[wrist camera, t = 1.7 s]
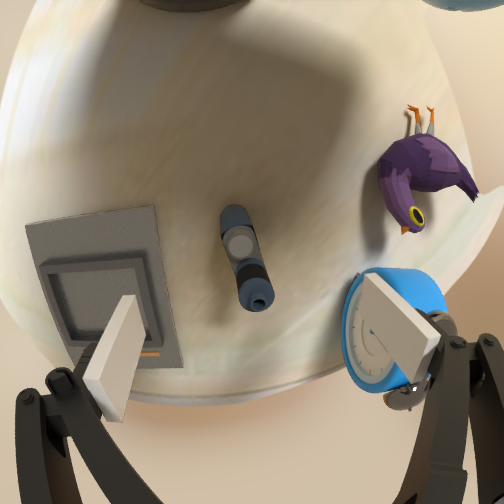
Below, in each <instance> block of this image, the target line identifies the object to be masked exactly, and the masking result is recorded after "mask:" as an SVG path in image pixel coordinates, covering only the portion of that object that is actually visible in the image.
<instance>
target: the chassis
mask: <svg viewBox="0 0 504 504" xmlns="http://www.w3.org/2000/svg"><path fill="white" fill-rule="evenodd" d="M25 228H26V233H27V237H28V241H29V245H30V249H31V253H32V257H33V260H34V264H35V267H36V270H37V274H38V277H39V280H40V283H41V286H42V289H43V292H44V295H45V298H46V301H47V303H48V306H49V309H50V311H51V314H52V316H53V319H54V321H55V324H56V326H57V329H58V331H59V333H60V336H61V338H62V340H63V342H64V345H65V347H66V349H67V351H68V353H69V355H70V357H71V360H72V362H73V364H74V366H76V365H77V363H78V361H79V359H80V357H81V355H82V353H83V351H84V349H85V348H86V347H87V346H88V345H89V344H90V343H99V341H100V339H101V337H102V335H103V333H104V331H105V329H106V327H107V325H108V323H109V321H110V319H111V317H112V315H113V313H114V311H115V309H116V307H117V305H118V304H119V302H120V300H121V298H122V296H123V295H136V300H137V304H138V307H139V311H140V315H141V319H142V323H143V326H144V330H145V333H146V336H145V339H144V343H143V346H142V350H141V353H140V357H139V360H138V364H137V367H136V368H183V366H184V363H183V359H182V355H181V350H180V346H179V342H178V338H177V333H176V329H175V324H174V320H173V315H172V310H171V305H170V300H169V295H168V290H167V285H166V280H165V274H164V268H163V262H162V256H161V250H160V244H159V237H158V230H157V223H156V215H155V207H154V206H146V207H137V208H129V209H121V210H113V211H105V212H98V213H91V214H84V215H77V216H71V217H64V218H58V219H52V220H46V221H40V222H35V223H29V224H27V225H25Z"/></svg>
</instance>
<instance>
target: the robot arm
mask: <svg viewBox="0 0 504 504" xmlns="http://www.w3.org/2000/svg"><path fill="white" fill-rule="evenodd" d="M141 1H143V2H144V3H146V4H148V5H150V6H153V7H156V8H159V9H163V10H168V11H176V12H196V11H205V10H211V9H216V8H220V7H223V6H227V5H230V4H232V3H235V2H237V1H239V0H141ZM422 1H424V2H425V3H427V4H429V5H432V6H434V7H437V8H440V9H443V10H449V11H458V10H460V11H463V12H473V11H482V10H486V9H491V8H495V7H498V6H501V5H504V0H422ZM359 314H360V316H361V317H362V318H363V320H364V321H365V322H366V323H367V325H368V326H369V327H370V329H371V330H372V331H373V333H374V334H375V335H376V337H377V338H378V339H379V341H380V342H381V343H382V345H383V346H384V347H385V349H386V350H387V351H388V353H389V354H390V355H391V357H392V358H393V360H394V361H395V362H396V364H397V365H398V366H399V368H400V369H401V371H402V372H403V373H404V375H405V376H406V377H407V379H408V380H409V382H410V383H411V384H413V383H416V382H418V381H421V380H423V379H424V377H425V375H426V372H427V371H428V372H429V373H430V375H431V376H430V379H429V381H428V383H427V385H426V387H425V389H424V391H425V392H426V390H427V393H426V398H425V404H424V409H423V413H422V418H421V422H420V427H419V431H418V435H417V438H416V442H415V446H414V449H413V453H412V456H411V459H410V463H409V466H408V469H407V473H406V475H405V478H404V481H403V484H402V487H401V489H400V492H399V494H398V496H397V497H396V499H395V500H394V502H393V503H392V504H462V501H463V496H464V492H465V487H466V482H467V474H468V473H467V471H466V470H463V469H462V465H463V459H464V452H465V445H466V437H467V427H468V415H469V418H470V424H471V429H472V436H473V443H474V451H475V459H476V469H477V484H478V499H479V504H504V351H503V349H502V347H501V345H500V343H499V341H498V339H497V338H496V337H494V336H493V335H491V334H487V333H484V334H481V335H480V336H479V339H478V341H477V342H474V343H467V341H466V340H464V339H463V338H462V337H459V336H453V335H452V336H449V335H448V334H447V333H446V332H445V331H444V330H443V329H442V328H441V327H440V326H439V325H438V324H437V323H435V321H433V320H432V319H430V317H429V316H428V315H427V314H426V313H425V312H423V311H422V310H420V309H418V308H415V309H414V308H413V307H412V306H411V305H410V304H409V303H408V302H406V301H405V300H404V299H403V298H402V297H401V296H400V295H399V294H398V293H397V292H396V291H395V290H394V289H393V288H392V287H390V286H389V285H388V284H387V283H386V282H385V281H384V280H383V279H382V278H381V277H380V276H378V275H377V274H376V273H369V274H364V281H363V288H362V295H361V302H360V308H359ZM145 336H146V333H145V330H144V326H143V323H142V319H141V315H140V311H139V307H138V304H137V300H136V295H123V296H122V298H121V300H120V302H119V304H118V305H117V307H116V309H115V311H114V313H113V315H112V317H111V319H110V321H109V323H108V325H107V327H106V329H105V331H104V333H103V335H102V337H101V339H100V341H99V343H90V344H89V345H88V346H87V347H86V348H85V349H84V351H83V353H82V355H81V357H80V359H79V361H78V363H77V365H76V367H75V369H74V371H73V373H72V372H71V370H70V369H68V368H65V367H60V368H56V369H54V370H52V371H51V372H50V373H49V374H48V375H47V376H46V379H45V384H46V385H47V387H48V389H49V391H50V392H51V394H49V395H42V396H41V395H40V394H39V392H38V391H37V390H36V389H34V388H27V389H24V390H23V391H21V392H20V393H19V395H18V396H17V399H16V411H15V412H16V413H15V444H16V445H15V446H16V463H17V474H18V483H19V491H20V497H21V503H22V504H83V503H82V500H81V497H80V493H79V490H78V487H77V483H76V479H75V475H74V471H73V467H72V462H71V458H70V453H69V448H68V443H67V437H68V436H71V437H72V439H73V441H74V443H75V445H76V447H77V449H78V451H79V453H80V454H81V456H82V458H83V460H84V462H85V463H86V465H87V467H88V469H89V470H90V472H91V473H92V475H93V477H94V479H95V480H96V482H97V483H98V485H99V487H100V488H101V490H102V491H103V493H104V494H105V496H106V497H107V498H108V500H109V502H110V503H111V504H164V503H163V502H162V501H161V500H160V499H159V498H158V497H157V496H156V495H155V494H154V492H153V491H152V490H151V489H150V488H149V487H148V486H147V484H146V483H145V482H144V481H143V479H142V478H141V477H140V476H139V475H138V473H137V472H136V471H135V470H134V468H133V467H132V466H131V464H130V463H129V462H128V460H127V459H126V458H125V456H124V455H123V454H122V452H121V451H120V449H119V448H118V447H117V445H116V444H115V442H114V441H113V439H112V438H111V436H110V435H109V433H108V432H107V430H106V429H105V427H104V426H103V424H102V423H101V421H100V419H101V416H102V414H103V416H104V417H105V419H106V420H107V421H110V422H121V423H122V422H123V418H124V413H125V410H126V406H127V401H128V397H129V394H130V390H131V386H132V382H133V378H134V374H135V371H136V367H137V364H138V360H139V357H140V353H141V350H142V346H143V343H144V339H145ZM484 375H485V376H484Z"/></svg>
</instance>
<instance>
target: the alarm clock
mask: <svg viewBox="0 0 504 504" xmlns="http://www.w3.org/2000/svg"><path fill="white" fill-rule="evenodd" d="M369 273H376V274H377V275H378V276H380V277H381V278H382V279H383V280H384V281H385V282H386V283H387V284H388V285H389V286H390V287H392V288H393V289H394V290H395V291H396V292H397V293H398V294H399V295H400V296H401V297H402V298H403V299H404V300H405V301H406V302H408V303H409V304H410V305H411V306H412V307H413V308H414V309H415V308H418V309H420V310H422V311H423V312H425V313H426V314H427V315H428V316H429V317H430V319H432V320H433V321H435V323H437V324H438V325H439V326H440V327H441V328H442V329H443V330H444V331H445V332H446V333H447V334H448V335H449V336H452V335H453V336H458V330H457V325H456V322H455V320H454V319H453V317H452V316H451V315H450V314H449V313H448V311H447V307H446V303H445V300H444V297H443V295H442V293H441V291H440V289H439V287H438V286H437V284H436V283H435V281H434V280H433V279H432V278H431V277H430V276H429V275H427V274H426V273H424V272H422V271H419V270H416V269H400V268H379V267H375V268H370V269H367V270H365V271H364V272H362V273H361V274H359V273H357V278H356V279H355V281H354V282H353V284H352V286H351V288H350V290H349V292H348V295H347V298H346V301H345V305H344V309H343V315H342V324H341V342H342V350H343V356H344V360H345V364H346V367H347V369H348V372H349V374H350V376H351V378H352V379H353V381H354V382H355V383H356V385H357V386H358V387H360V388H361V389H362V390H364V391H366V392H369V393H381V392H386V391H391V390H393V391H391V392H389V393H387V394H385V395H383V400H384V402H385V404H386V405H387V406H388V407H389V408H391V409H394V410H406V409H408V410H409V411H411V408H412V407H414V406H416V405H418V404H420V403H421V402H422V401H423V400H424V398H425V397H426V393H427V390H426V392H425V391H424V389H425V387H426V385H427V383H428V380H427V379H428V378H429V377H430V376H431V375H430V373H429V372H428V371H427V372H426V375H425V377H424V379H423V380H421V381H418V382H416V383H413V384H411V383H410V382H409V380H408V379H407V377H406V376H405V375H404V373H403V372H402V371H401V369H400V368H399V366H398V365H397V364H396V362H395V361H394V360H393V358H392V357H391V355H390V354H389V353H388V351H387V350H386V349H385V347H384V346H383V345H382V343H381V342H380V341H379V339H378V338H377V337H376V335H375V334H374V333H373V331H372V330H371V329H370V327H369V326H368V325H367V323H366V322H365V321H364V320H363V318H362V317H361V316H360V314H359V308H360V302H361V295H362V288H363V281H364V274H369Z"/></svg>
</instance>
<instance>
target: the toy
mask: <svg viewBox="0 0 504 504" xmlns="http://www.w3.org/2000/svg"><path fill="white" fill-rule="evenodd" d="M408 106H409V105H408ZM409 107H410V108H407V109H409V110H412V111H414V112H415V118H416V126H415V135H413V136H410V137H407V138H404V139H401V140H398V141H395V142H394V143H393V144H392V145H391V146H390V147H389V149H388V150H387V151H386V152H385V153H384V154H383V156H382V157H381V158H380V159H379V161H378V173H379V186H380V188H381V191H382V194H383V197H384V200H385V203H386V206H387V209H388V210H389V211H390V213H391V214H392V215H393V217H394V218H395V219H396V221H397V222H398V223H399V224H400V226H401V232H402V234H404V233H405V232H407V231H410V232H412V233H417V232H420V231H422V230H423V228H424V226H425V218H424V216H423V214H422V213H421V211H420V210H419V208H418V207H417V206H416V204H415V202H414V200H413V197H412V194H411V190H410V189H412V190H416V191H420V192H437V191H439V190H441V189H444V188H446V187H450V186H453V185H456V186H458V187H459V188H460V189H462V190H463V191H464V192H465V193H466V194H467V195H468V196H469V198H470V199H471V200H472V201H473V203H474V201H475V198H476V197H477V198H478V196H477V194H478V193H479V191H478V189H477V187H476V185H475V182H474V181H473V179H472V177H471V175H470V174H469V172H468V170H467V168H466V167H465V166H464V165H463V164H462V163H461V162H460V160H459V159H458V157H457V156H456V154H455V153H454V152H453V151H452V150H451V149H450V147H449V146H448V145H447V144H446V143H444V142H442V141H441V140H439V139H437V138H436V137H434V112H433V110H434V108H433V109H430V108H429V107H428V106H427V109H428V110H429V111H430V112H431V119H430V124H429V127H428V130H427V132H426V134H422V131H421V124H420V116H419V109H417V108H415V107H412V106H409ZM477 192H478V193H477ZM479 194H480V193H479Z"/></svg>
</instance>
